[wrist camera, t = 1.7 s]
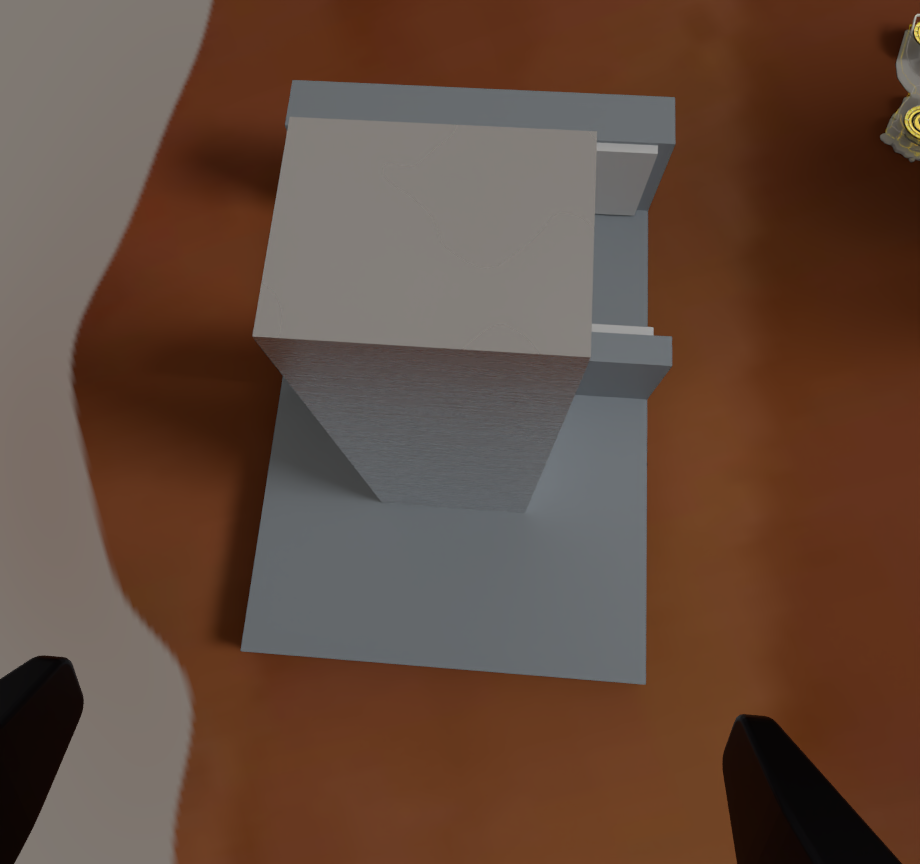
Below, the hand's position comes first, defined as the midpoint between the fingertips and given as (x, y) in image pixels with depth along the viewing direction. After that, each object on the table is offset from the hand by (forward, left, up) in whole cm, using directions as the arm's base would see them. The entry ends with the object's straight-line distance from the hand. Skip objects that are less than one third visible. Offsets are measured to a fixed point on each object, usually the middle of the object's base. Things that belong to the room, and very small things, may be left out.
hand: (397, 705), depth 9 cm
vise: (+8, +4, -12) cm, 15 cm away
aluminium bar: (+6, +3, -12) cm, 13 cm away
